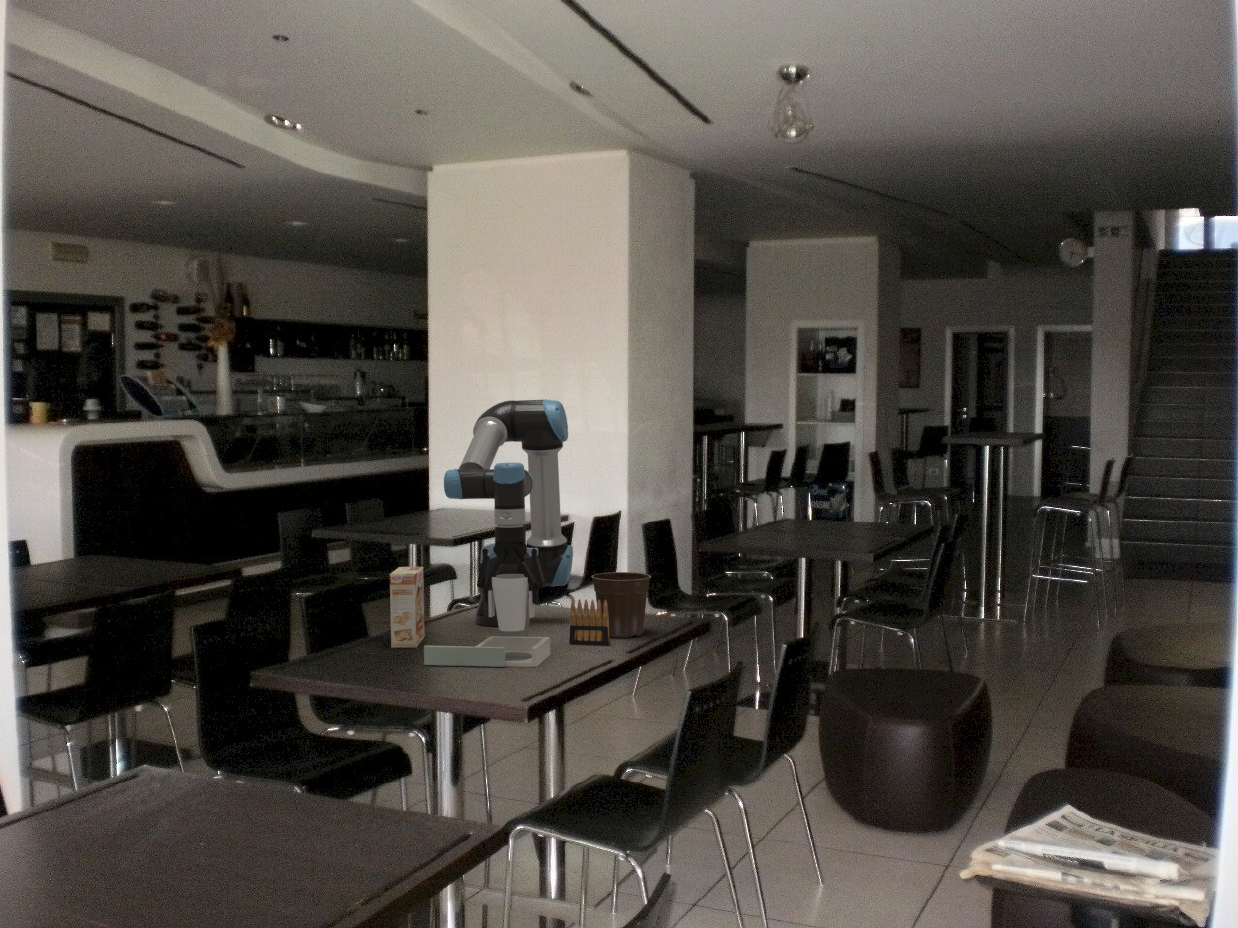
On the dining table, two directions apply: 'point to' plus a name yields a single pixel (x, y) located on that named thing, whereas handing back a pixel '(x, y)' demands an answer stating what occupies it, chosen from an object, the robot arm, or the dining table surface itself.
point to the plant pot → (623, 601)
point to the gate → (464, 656)
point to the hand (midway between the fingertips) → (511, 616)
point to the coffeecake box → (407, 607)
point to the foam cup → (511, 600)
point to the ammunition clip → (589, 625)
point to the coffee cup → (523, 632)
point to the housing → (521, 649)
